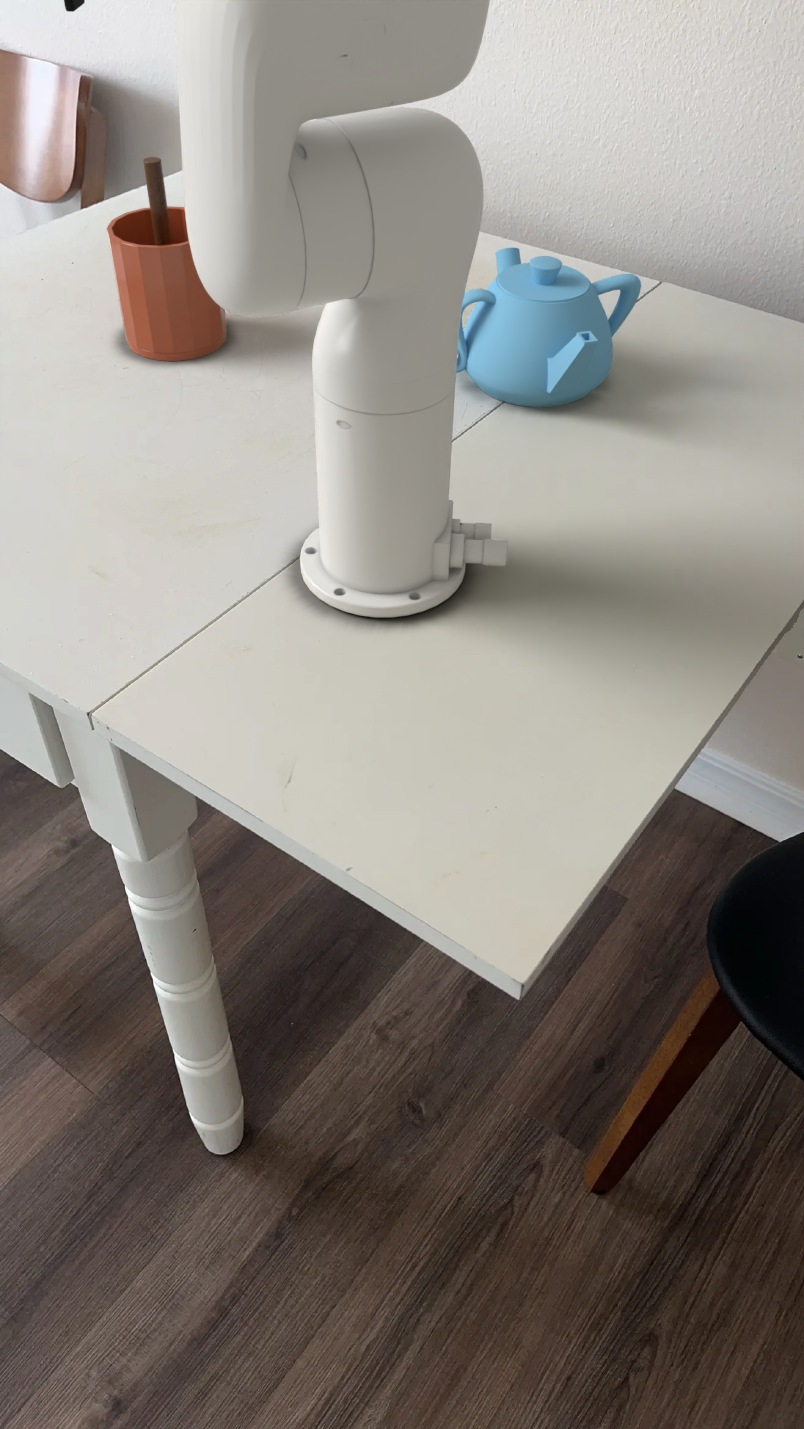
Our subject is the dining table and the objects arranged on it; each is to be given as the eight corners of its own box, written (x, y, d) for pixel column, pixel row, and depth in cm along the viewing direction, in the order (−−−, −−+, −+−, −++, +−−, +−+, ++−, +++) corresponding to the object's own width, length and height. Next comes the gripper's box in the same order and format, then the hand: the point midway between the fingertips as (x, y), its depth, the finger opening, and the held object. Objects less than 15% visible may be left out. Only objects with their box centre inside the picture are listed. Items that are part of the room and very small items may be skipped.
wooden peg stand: (205, 320, 110) (185, 151, 99) (194, 342, 107) (173, 170, 95) (156, 317, 110) (131, 149, 99) (145, 340, 107) (117, 168, 95)
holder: (234, 318, 112) (224, 208, 105) (216, 363, 105) (203, 249, 97) (140, 313, 113) (122, 204, 105) (115, 358, 106) (94, 244, 98)
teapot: (637, 354, 108) (657, 240, 100) (581, 435, 97) (599, 314, 89) (495, 322, 113) (503, 211, 105) (426, 396, 102) (430, 278, 94)
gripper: (-47, -275, 74) (14, 17, 85) (203, -272, 73) (230, 23, 85) (-9, -279, 79) (44, -3, 91) (225, -276, 78) (247, 2, 90)
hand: (133, 9), depth 88 cm, fingers open, 9 cm apart
